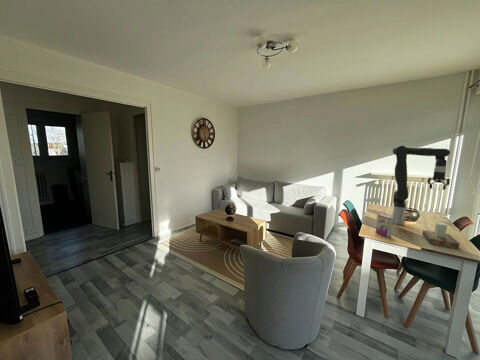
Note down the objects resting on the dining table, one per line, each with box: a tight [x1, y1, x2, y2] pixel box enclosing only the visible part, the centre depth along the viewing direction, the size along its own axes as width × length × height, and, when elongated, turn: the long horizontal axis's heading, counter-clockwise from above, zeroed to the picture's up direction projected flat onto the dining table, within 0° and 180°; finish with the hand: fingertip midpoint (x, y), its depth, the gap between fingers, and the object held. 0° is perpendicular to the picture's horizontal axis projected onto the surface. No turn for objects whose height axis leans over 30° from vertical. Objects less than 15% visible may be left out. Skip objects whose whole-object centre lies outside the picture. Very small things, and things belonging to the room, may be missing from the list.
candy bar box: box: [375, 213, 394, 238], centre depth 172 cm, size 11×5×16 cm, turn 9°
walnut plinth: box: [422, 229, 460, 249], centre depth 160 cm, size 16×20×4 cm
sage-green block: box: [434, 222, 448, 238], centre depth 159 cm, size 5×5×10 cm
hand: (437, 189), depth 184 cm, fingers open, 8 cm apart
